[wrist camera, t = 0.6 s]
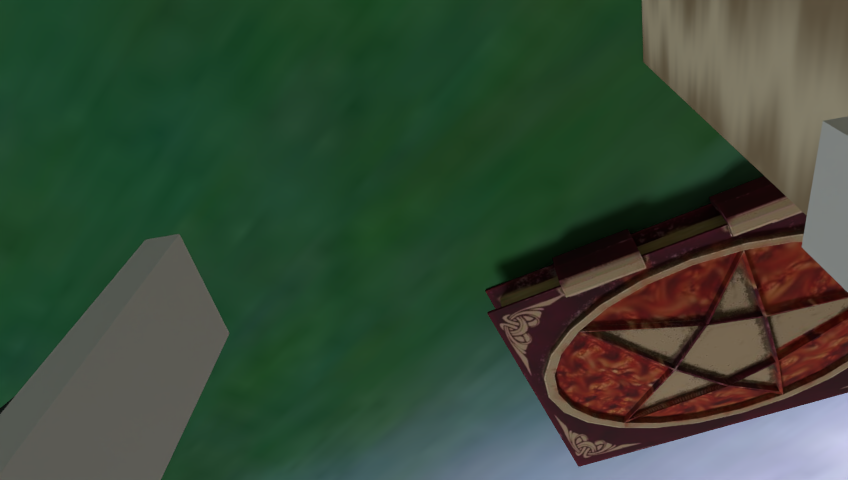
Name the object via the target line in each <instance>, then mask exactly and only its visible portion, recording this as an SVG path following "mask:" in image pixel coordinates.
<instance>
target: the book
mask: <svg viewBox="0 0 848 480" xmlns="http://www.w3.org/2000/svg"><path fill="white" fill-rule="evenodd" d="M709 199H710V202H711V204H708V205H706V206H703V207H701V208H698V209H695V210H693V211H690V212H688V213H685V214H682V215H680V216H677V217H675V218H672V219H669V220H667V221H664V222H662V223H659V224H656V225H654V226H651V227H649V228H646V229H643V230H641V231H638V232H636V233H633V234H630V232H629V230H628V229H626V230H624V231H621V232H618V233H616V234H613V235H611V236H608V237H605V238H603V239H600V240H598V241H595V242H593V243H590V244H587V245H585V246H582V247H580V248H577V249H575V250H572V251H569V252H567V253H564V254H562V255H559V256H556V257H554V258H553V262H554V264H552V265H550V266H547V267H544V268H542V269H539V270H537V271H534V272H531V273H529V274H526V275H524V276H521V277H518V278H516V279H513V280H511V281H508V282H505V283H503V284H500V285H498V286H495V287H492V288H490V289H487V290H486V293H487V295H488V296H489V298H490V300H491V302H492V303H493V305H494V307H495V308H496V309H495V310H492V311H489V312H488V315H489V317H490V318H491V320H492V322H493V323H494V325H495V327H496V329H497V330H498V332H499V334H500V335H501V337H502V339H503V340H504V342H505V344H506V345H507V347H508V349H509V350H510V352H511V354H512V355H513V357H514V359H515V360H516V362H517V364H518V366H519V367H520V369H521V371H522V372H523V374H524V376H525V377H526V379H527V381H528V382H529V384H530V386H531V387H532V389H533V391H534V392H535V394H536V396H537V397H538V399H539V401H540V403H541V404H542V406H543V408H544V409H545V411H546V413H547V414H548V416H549V418H550V419H551V421H552V423H553V424H554V426H555V428H556V429H557V431H558V433H559V434H560V436H561V438H562V440H563V441H564V443H565V445H566V446H567V448H568V450H569V451H570V453H571V455H572V456H573V458H574V460H575V461H576V463H577V465H578V466H583V465H587V464H590V463H594V462H597V461H601V460H605V459H608V458H612V457H616V456H619V455H623V454H626V453H630V452H634V451H637V450H641V449H645V448H648V447H652V446H655V445H659V444H663V443H666V442H670V441H674V440H677V439H681V438H684V437H688V436H692V435H695V434H699V433H703V432H706V431H710V430H713V429H717V428H721V427H724V426H728V425H732V424H735V423H739V422H743V421H746V420H750V419H753V418H757V417H761V416H764V415H768V414H772V413H775V412H779V411H782V410H786V409H790V408H793V407H797V406H801V405H804V404H808V403H811V402H815V401H819V400H822V399H826V398H830V397H833V396H837V395H840V394H844V393H848V292H847V291H846V290H845V289H844V288H843V287H842V286H841V285H840V284H839V283H838V282H837V281H836V280H835V279H834V278H833V277H832V276H830V275H829V274H828V273H827V272H826V271H825V270H824V269H823V268H822V267H821V266H820V265H819V264H818V263H817V262H816V261H815V260H814V259H813V258H812V257H811V256H810V255H809V254H808V253H807V252H806V251H805V250H804V249H803V248H802V242H803V236H804V230H805V224H806V218H807V215H805V214H804V213H803V212H802V211H801V210H800V209H799V208H798V207H797V206H796V205H795V204H794V203H793V202H792V201H791V200H790V199H788V198H787V197H786V196H785V195H784V194H783V193H782V192H781V191H780V190H779V189H778V188H777V187H776V186H775V185H774V184H773V183H771V182H770V181H769V180H768V179H767V178H766V177H765V176H763V177H760V178H758V179H755V180H753V181H750V182H747V183H745V184H742V185H740V186H737V187H734V188H732V189H729V190H727V191H724V192H722V193H719V194H716V195H714V196H711V197H709Z"/></svg>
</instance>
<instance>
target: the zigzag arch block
mask: <svg viewBox="0 0 848 480" xmlns="http://www.w3.org/2000/svg"><path fill="white" fill-rule="evenodd" d="M642 22H643V61H644V63H645V64H646V65H647V66H648V67H649V68H650V69H651V70H652V71H654V72H655V73H656V74H657V75H658V76H659V77H660V78H661V79H662V80H663V81H664V82H665V83H666V84H667V85H668V86H669V87H671V88H672V89H673V90H674V91H675V92H676V93H677V94H678V95H679V96H680V97H681V98H682V99H683V100H684V101H685V102H686V103H688V104H689V105H690V106H691V107H692V108H693V109H694V110H695V111H696V112H697V113H698V114H699V115H700V116H701V117H702V118H703V119H705V120H706V121H707V122H708V123H709V124H710V125H711V126H712V127H713V128H714V129H715V130H716V131H717V132H718V133H719V134H720V135H722V136H723V137H724V138H725V139H726V140H727V141H728V142H729V143H730V144H731V145H732V146H733V147H734V148H735V149H736V150H737V151H739V152H740V153H741V154H742V155H743V156H744V157H745V158H746V159H747V160H748V161H749V162H750V163H751V164H752V165H753V166H754V167H756V168H757V169H758V170H759V171H760V172H761V173H762V174H763V175H764V176H765V177H766V178H767V179H768V180H769V181H770V182H771V183H773V184H774V185H775V186H776V187H777V188H778V189H779V190H780V191H781V192H782V193H783V194H784V195H785V196H786V197H787V198H788V199H790V200H791V201H792V202H793V203H794V204H795V205H796V206H797V207H798V208H799V209H800V210H801V211H802V212H803V213H804V214H805V215H807V212H808V206H809V200H810V194H811V188H812V182H813V176H814V170H815V164H816V158H817V152H818V146H819V140H820V134H821V128H822V122H823V121H825V120H830V119H836V118H842V117H847V116H848V0H642Z"/></svg>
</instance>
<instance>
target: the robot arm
mask: <svg viewBox="0 0 848 480" xmlns="http://www.w3.org/2000/svg"><path fill="white" fill-rule="evenodd" d="M802 248H803V249H804V250H805V251H806V252H807V253H808V254H809V255H810V256H811V257H812V258H813V259H814V260H815V261H816V262H817V263H818V264H819V265H820V266H821V267H822V268H823V269H824V270H825V271H826V272H827V273H828V274H829V275H830V276H832V277H833V278H834V279H835V280H836V281H837V282H838V283H839V284H840V285H841V286H842V287H843V288H844V289H845V290H846V291H847V292H848V116H847V117H842V118H836V119H830V120H825V121H823V122H822V128H821V134H820V140H819V146H818V152H817V158H816V164H815V170H814V176H813V182H812V188H811V194H810V200H809V206H808V212H807V218H806V224H805V230H804V236H803V242H802ZM228 335H229V332H228V330H227V328H226V326H225V324H224V322H223V320H222V318H221V316H220V314H219V312H218V310H217V308H216V306H215V304H214V302H213V300H212V298H211V296H210V294H209V292H208V290H207V288H206V286H205V284H204V282H203V280H202V278H201V276H200V274H199V272H198V270H197V268H196V266H195V264H194V262H193V260H192V258H191V256H190V254H189V252H188V250H187V248H186V246H185V244H184V242H183V240H182V238H181V236H180V234H176V235H170V236H165V237H159V238H153V239H148V240H145V241H144V242H143V243H142V245H141V246H140V247H139V248H138V249H137V251H136V252H135V253H134V254H133V255H132V257H131V258H130V259H129V260H128V261H127V263H126V264H125V265H124V266H123V267H122V269H121V270H120V271H119V272H118V273H117V275H116V276H115V277H114V278H113V279H112V281H111V282H110V283H109V284H108V285H107V287H106V288H105V289H104V290H103V291H102V293H101V294H100V295H99V296H98V297H97V299H96V300H95V301H94V302H93V303H92V305H91V306H90V307H89V308H88V309H87V311H86V312H85V313H84V314H83V315H82V317H81V318H80V319H79V320H78V321H77V323H76V324H75V325H74V326H73V327H72V329H71V330H70V331H69V332H68V333H67V335H66V336H65V337H64V338H63V339H62V341H61V342H60V343H59V344H58V345H57V347H56V348H55V349H54V350H53V351H52V353H51V354H50V355H49V356H48V357H47V359H46V360H45V361H44V362H43V363H42V365H41V366H40V367H39V368H38V369H37V371H36V372H35V373H34V374H33V375H32V377H31V378H30V379H29V380H28V381H27V383H26V384H25V385H24V386H23V387H22V389H21V390H20V391H19V392H18V393H17V395H16V396H15V397H13V398H12V399H11V400H10V401H9V402H7V403H6V404H5V405H4V406H2V407H1V408H0V480H161V478H162V476H163V474H164V472H165V469H166V467H167V465H168V463H169V461H170V459H171V457H172V454H173V452H174V450H175V448H176V446H177V444H178V442H179V440H180V437H181V435H182V433H183V431H184V429H185V427H186V425H187V423H188V420H189V418H190V416H191V414H192V412H193V410H194V408H195V405H196V403H197V401H198V399H199V397H200V395H201V393H202V391H203V388H204V386H205V384H206V382H207V380H208V378H209V376H210V373H211V371H212V369H213V367H214V365H215V363H216V361H217V359H218V356H219V354H220V352H221V350H222V348H223V346H224V344H225V341H226V339H227V337H228Z"/></svg>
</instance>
